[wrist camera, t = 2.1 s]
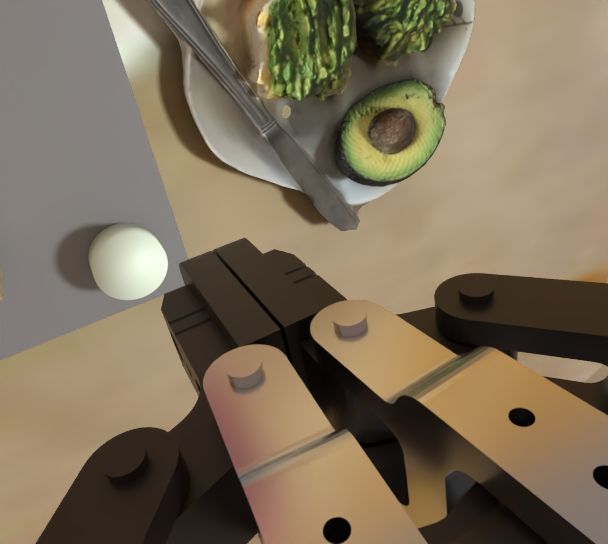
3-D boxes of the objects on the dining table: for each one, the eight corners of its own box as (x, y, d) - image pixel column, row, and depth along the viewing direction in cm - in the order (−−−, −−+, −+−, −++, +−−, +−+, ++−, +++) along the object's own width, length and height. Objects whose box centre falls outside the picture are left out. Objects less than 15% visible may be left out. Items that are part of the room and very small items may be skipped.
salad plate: (82, 139, 27) (95, 160, 23) (205, -257, 23) (245, -307, 19) (366, 235, 38) (406, 259, 34) (483, -23, 34) (543, -27, 30)
